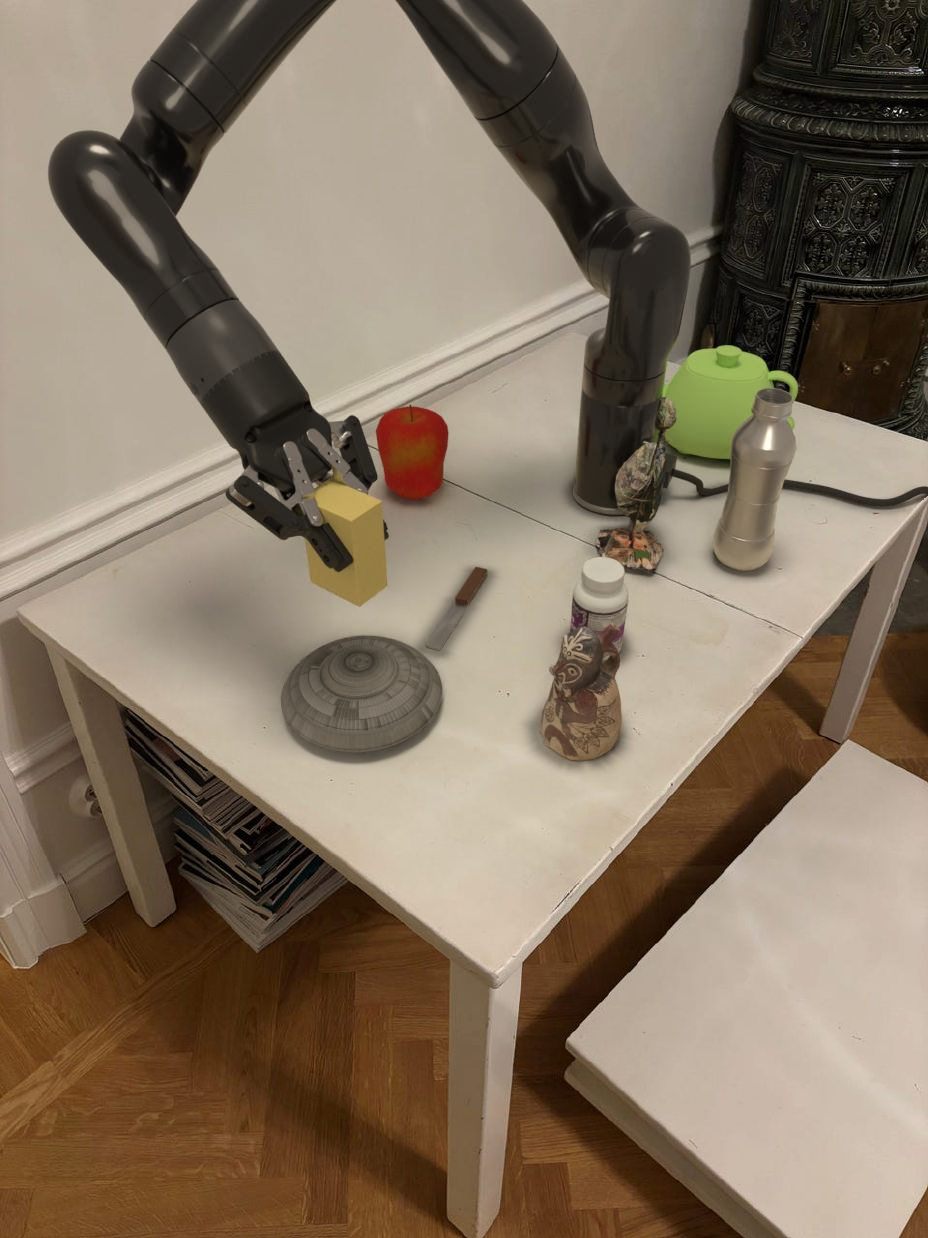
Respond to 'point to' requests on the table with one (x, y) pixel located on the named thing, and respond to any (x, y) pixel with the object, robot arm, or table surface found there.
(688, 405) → the teapot
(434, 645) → the butter knife
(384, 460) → the apple
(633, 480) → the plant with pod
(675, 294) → the robot arm
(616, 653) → the figurine
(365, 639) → the flying saucer
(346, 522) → the butter portion
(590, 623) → the pill bottle
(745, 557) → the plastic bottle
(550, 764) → the table surface
